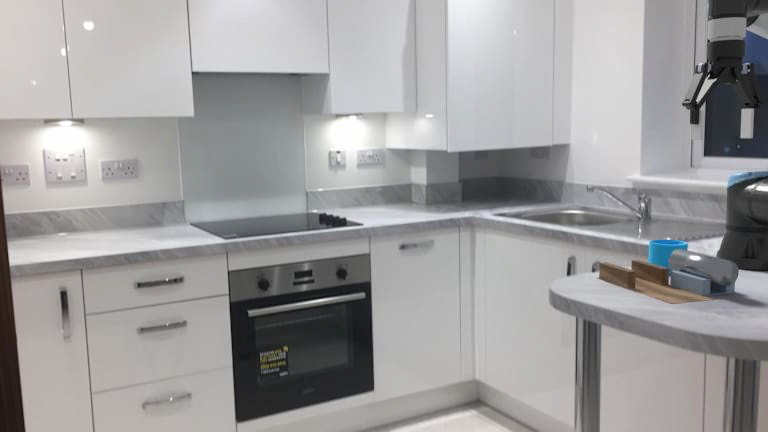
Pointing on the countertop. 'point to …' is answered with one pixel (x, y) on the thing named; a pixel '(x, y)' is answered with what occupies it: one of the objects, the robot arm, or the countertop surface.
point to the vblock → (698, 284)
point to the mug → (664, 251)
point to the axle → (704, 266)
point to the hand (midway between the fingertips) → (722, 139)
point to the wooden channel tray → (647, 281)
